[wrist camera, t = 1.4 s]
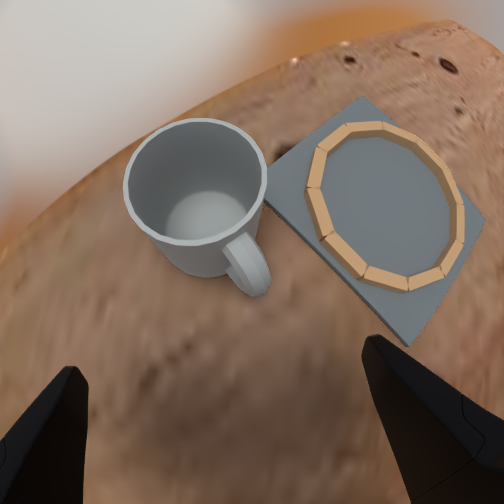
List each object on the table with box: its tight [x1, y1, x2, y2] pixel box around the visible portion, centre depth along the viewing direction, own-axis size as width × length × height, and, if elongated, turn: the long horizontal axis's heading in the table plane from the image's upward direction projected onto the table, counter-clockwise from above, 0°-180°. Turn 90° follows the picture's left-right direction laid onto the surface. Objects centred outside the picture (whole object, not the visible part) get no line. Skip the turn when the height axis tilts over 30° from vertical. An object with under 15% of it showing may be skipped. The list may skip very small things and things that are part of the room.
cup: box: [123, 118, 271, 297], centre depth 19 cm, size 7×10×9 cm
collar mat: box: [264, 95, 486, 347], centre depth 24 cm, size 18×16×2 cm
